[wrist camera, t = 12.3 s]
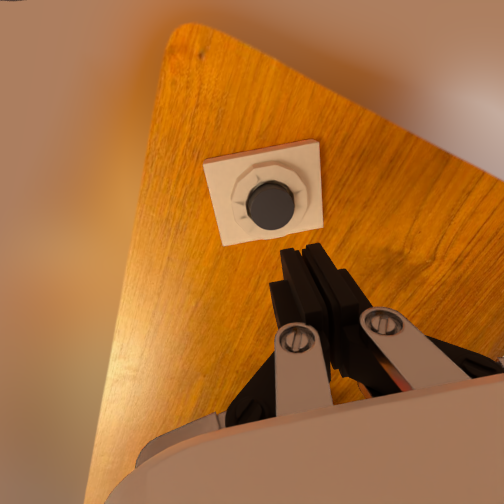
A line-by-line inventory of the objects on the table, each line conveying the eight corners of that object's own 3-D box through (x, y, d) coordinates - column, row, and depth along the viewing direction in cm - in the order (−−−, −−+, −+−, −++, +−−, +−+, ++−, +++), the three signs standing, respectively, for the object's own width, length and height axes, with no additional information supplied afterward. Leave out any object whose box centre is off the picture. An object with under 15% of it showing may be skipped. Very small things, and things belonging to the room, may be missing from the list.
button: (252, 226, 25) (254, 234, 24) (245, 187, 23) (246, 193, 22) (292, 218, 25) (296, 226, 24) (287, 178, 23) (292, 184, 22)
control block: (223, 237, 29) (222, 255, 26) (204, 159, 26) (200, 168, 22) (317, 219, 29) (329, 235, 26) (312, 138, 26) (326, 144, 22)
